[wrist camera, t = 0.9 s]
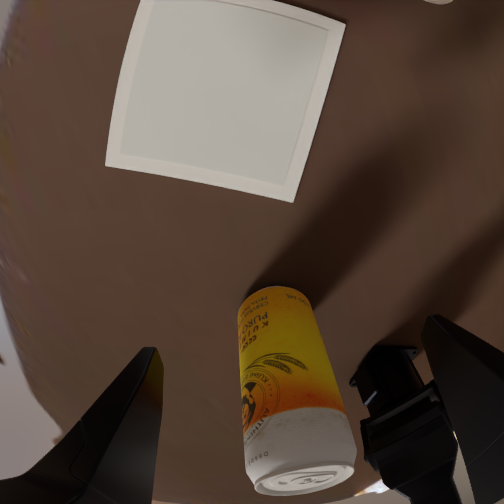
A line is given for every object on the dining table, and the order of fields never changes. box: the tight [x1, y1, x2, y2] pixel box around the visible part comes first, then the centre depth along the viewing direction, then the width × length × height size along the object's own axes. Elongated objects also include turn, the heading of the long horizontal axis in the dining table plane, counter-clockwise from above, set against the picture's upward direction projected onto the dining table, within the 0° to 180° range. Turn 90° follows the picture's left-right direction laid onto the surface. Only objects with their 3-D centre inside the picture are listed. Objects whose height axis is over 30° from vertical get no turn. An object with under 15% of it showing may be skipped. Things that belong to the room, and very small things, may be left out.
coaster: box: [105, 0, 346, 203], centre depth 17 cm, size 13×13×1 cm
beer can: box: [238, 286, 357, 496], centre depth 19 cm, size 6×6×15 cm
